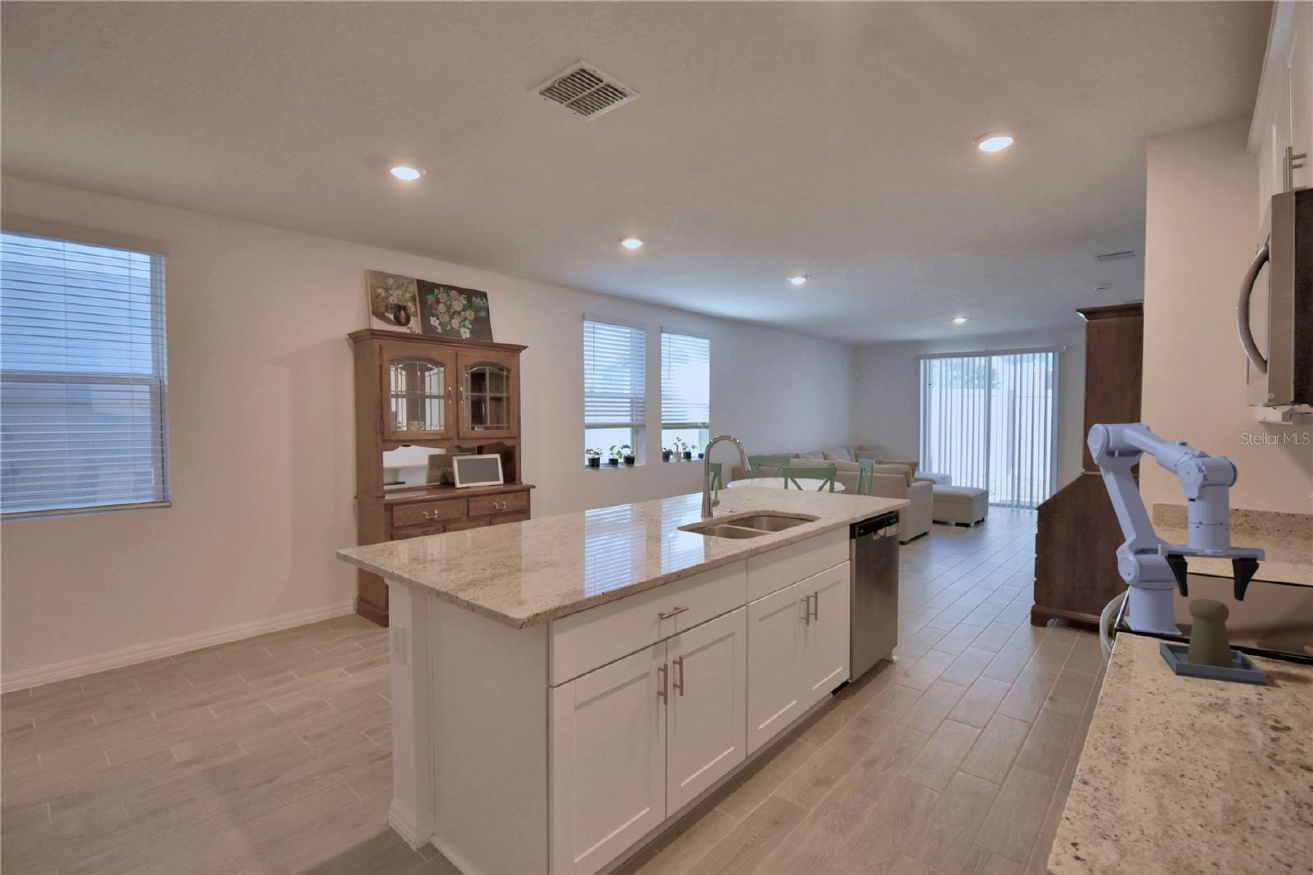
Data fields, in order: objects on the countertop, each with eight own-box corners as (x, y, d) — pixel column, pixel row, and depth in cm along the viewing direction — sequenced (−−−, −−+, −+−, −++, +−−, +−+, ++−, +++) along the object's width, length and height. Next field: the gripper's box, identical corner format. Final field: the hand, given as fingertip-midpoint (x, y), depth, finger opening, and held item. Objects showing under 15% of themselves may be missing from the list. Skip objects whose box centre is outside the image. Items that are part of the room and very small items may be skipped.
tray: (1159, 653, 114) (1159, 642, 114) (1240, 662, 109) (1239, 650, 109) (1175, 674, 104) (1175, 662, 104) (1265, 685, 99) (1265, 673, 99)
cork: (1235, 673, 103) (1233, 607, 103) (1187, 665, 106) (1185, 601, 106) (1232, 662, 107) (1230, 599, 107) (1186, 655, 111) (1185, 594, 111)
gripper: (1163, 524, 113) (1165, 599, 113) (1271, 527, 106) (1273, 607, 106) (1154, 519, 119) (1156, 590, 119) (1255, 522, 112) (1257, 597, 112)
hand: (1211, 597), depth 113 cm, fingers open, 7 cm apart
